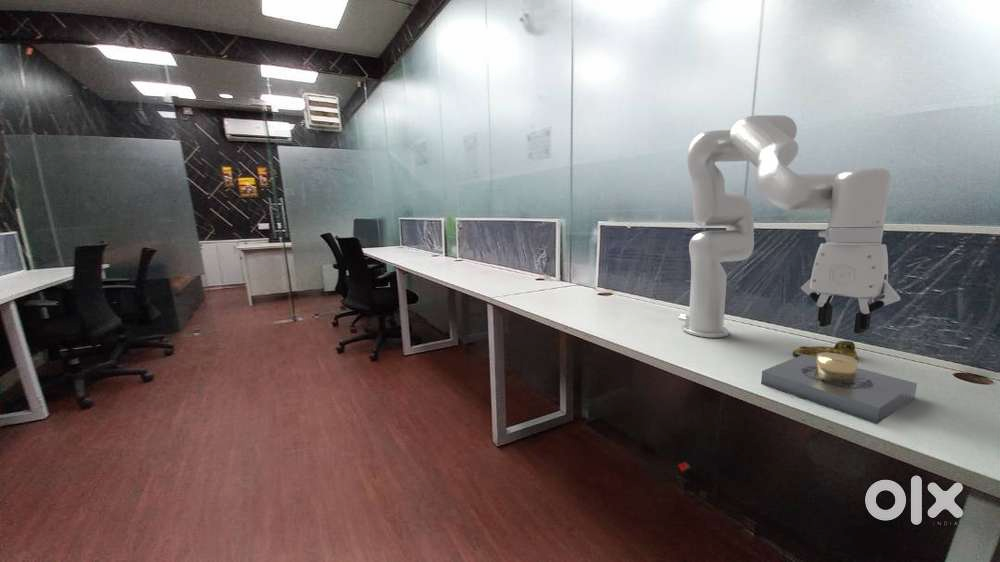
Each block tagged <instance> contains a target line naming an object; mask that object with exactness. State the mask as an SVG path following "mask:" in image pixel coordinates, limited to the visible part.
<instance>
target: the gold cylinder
mask: <svg viewBox="0 0 1000 562" xmlns="http://www.w3.org/2000/svg"><path fill="white" fill-rule="evenodd" d="M857 368H858V359H857V360H856V359H854V358H852V357H849V356H846V355H842V354H836V353H827V352H823V353H818V354H817V359H816V368H815V374H816V375H817V376H819V377H821V378H824V379H827V380H830V381H834V382H840V383H853V382H855V378H856V370H857Z"/></svg>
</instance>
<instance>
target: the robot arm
mask: <svg viewBox="0 0 1000 562" xmlns="http://www.w3.org/2000/svg"><path fill="white" fill-rule="evenodd" d="M797 128H798V126H797V124H796V123H795V121H794V119H792V118H791V117H790V116H787V115H783V114H781V115H780V114H779V115H777V114H776V115H775V114H774V115H773V114H772V115H771V114H769V115H768V114H767V115H763V114H762V115H758V114H756V115H750V116H746V117H743V118H741V119H739V120H738V121H737V122H736V123H735V124H734V125H733V126H732V128H731V129H730V130H729V129H722V130H721V129H720V130H709V131H703V132H702V133H699V134H698V135H696V136H695V137H694V138H693V139H692V141H691V143H690V145H689V146H688V147H689V148H688V151H687V156H686V157H687V160H686V161H687V168H688V169H687V170H688V172H689V176H690V181H691V189H692V191H691V192H692V193H691V194H692V195H691V197H692V213H693V214H692V215H693V219H694V222H695V224H697V226H700V227H725V230H721V229H719V230H705V231H701V232H698V233H696V234H694V235H693V236H692V237H691V239H690V240H689V244H688V253H689V257H690V258H689V260H690V290H689V291H690V293H689V307H688V314H687V313H680V315H679V316H678V320H679V321H682V322H685V323H684V325H682V331H684V332H685V333H687V334H689V335H692V336H696V337H700V338H701V337H702V338H718V339H719V338H724V337H727V336H728V335H730V330H729V329H728V328H727V327H724V325H725V324H724V323H725V321H724V320H725V308H726V307H725V305H726V294H727V292H726V291H727V279H728V278H727V274H726V271H725V269H724V267H723V266H722V264H721V263H725V262H741V261H744V260H747V259H748V258H750V257H751V255H752V254H753V250H754V248H755V247H754V245H755V232H754V231H755V229H754V228H755V226H754V208H753V205H752V202H751V200H749V198H748V197H747V196H746V195H743V194H738V193H737V194H736V193H729V194H728V193H726V189H725V178H724V175H723V173H722V171H721V169H720V168H719V167H718V166H717V165H716V163H717V162H723V163H724V162H744V161H749V162H750V163H751V164H752V165H753V166H754V167H755V168H756V172H755V183H756V188H757V190H758V191H759V192H760V194H761V195H762V196H763V197H764V198H765V199H766V200H767V201H768V202H769V203H770V204H771V205H773V207H775V208H777V209H779V210H780V211H784V212H788V213H789V212H790V213H798V212H829V216H828V223H827V227H826V229H824V230H819V231H818V237H819V238H824V240H825V242H824V243H820V244H819V246H818V250H817V252H816V256H815V259H814V262H813V267H812V270H811V271H812V272H811V276H810V278H809V279H808V280H807V281H806V282H805V283H804V284H803V285H802V286H800V289H801V291H803V292H804V293H805V294H806V295H808V296H809V298H811V299H812V301H814V303H816V306H817V308H818V314H817V321H818V322H819V327H821V328H822V327H823V328H824V327H827V326H830V325H832V318H833V312H834V311H833V310H834V307H833V305H831V302H832V300H833V298H834V296H838V297H848V298H855V299H857V301H858V306H859V311H858V312H857V313H856V314H855V319H854V320H855V321H854V326H853V332H854V333H855V334H857V335H858V334H861V333H862V334H863V333H864V332H866V330H869V328H870V325H871V320H872V319H871V317H872V313H873V312H875V311H877V310H879V309H882V308H883V307H885V306H888V305H891V304H894V303H896V302H899V301H900V300H901V296H900V295H899V294H898V292H897V291H896V290H895V289H894V288H893V287H892V286H891V284H890V283H889V282H888V280H889V257H888V256H889V254H888V249H887V245H886V244H885V243H884V244H882V241H883V236H884V235H883V234H884V227H885V221H886V214H887V207H888V200H889V193H890V186H891V173H890V171H889V170H888V169H886V168H885V169H884V168H862V169H860V168H859V169H853V170H852V169H851V170H846V171H843V172H839V173H810V174H809V173H807V174H804V173H803V174H798V173H796V172H794V171H793V170H792V169H791V168H789V167H788V166H789V165H790V164H792V162H793V161H794V160H795V159H796V157H797V155H798V153H799V143H798V142H797V141H796V140H795V138H796V135H797V133H798V129H797ZM883 295H884V297H883V298H882V299H881V298H880V299H879V300H875V301H874V298H876V297H879V296H883Z"/></svg>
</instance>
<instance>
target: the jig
mask: <svg viewBox="0 0 1000 562" xmlns="http://www.w3.org/2000/svg"><path fill="white" fill-rule="evenodd" d="M816 359H817V357H813V356H809V355H805V354H803V355H801V356H798V357H793V358H791V359H789V360H787V361H784V362H782V363H779V364H776V365H774V366H771V367H769V368H766V369H763V370H762V371H761V382H760V384H761V385H762V386H765V385H766V386H765V387H769V388H772V389H774V390H778V391H781V392H783V393H786V394H788V393H789V395H791V394H792V396H794V395H795V397H798V398H800V399H804V400H806V401H809V402H811V401H812V403H814V402H815V403H814V404H817V405H821V406H823V407H826V408H829V409H832V410H834V411H838V412H841V413H843V414H846V415H849V416H852V417H854V418H858V419H860V420H863V421H866V422H869V423H873V424H875V425H879V424H880V423H881V422H882V421H884V420H885V419H887V418H888V417H889V416H891V415H892V414H894V413H895V412H896V411H898V410H900V409H901V408H902V407H904V406H906V405H907V404H908V403H909V402H911V401H912V400H914V399H915V398H916V392H917V386H918V383H917V382H914V381H911V380H906V379H902V378H898V377H894V376H891V375H886V374H882V373H879V372H875V371H871V370H866V369H863V368H859V367H857V370H856V378H855V382H853V383H840V382H834V381H830V380H827V379H824V378H821V377H819V376H817V375H816V374H815V368H816Z"/></svg>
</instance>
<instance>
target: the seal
mask: <svg viewBox="0 0 1000 562" xmlns="http://www.w3.org/2000/svg"><path fill="white" fill-rule="evenodd" d="M823 352H827V353H836V354H842V355H846V356H849V357H852V358H854V359H856V360H857V361H858V353H857V351H856V345H855V343H854V341H851V340H839V341H837V342H835V344H834V346H833V347H831V346H825V345H824V346H820V345H819V346H804V345H803V346H799V348H796V349H794V350H793V352H792V356H794V358H796V357H798V356H801V355H803V354H805V355H809V356H813V357H817V354H818V353H823Z"/></svg>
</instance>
